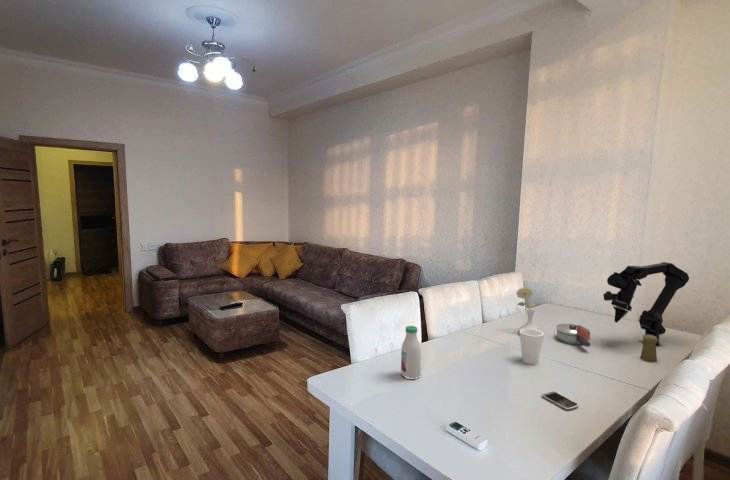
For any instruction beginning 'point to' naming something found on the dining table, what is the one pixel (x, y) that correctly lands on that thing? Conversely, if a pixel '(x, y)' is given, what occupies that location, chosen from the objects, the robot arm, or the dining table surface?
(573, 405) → the cell phone
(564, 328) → the lid
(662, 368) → the dining table surface
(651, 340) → the cork
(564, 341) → the pot
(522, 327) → the flower in vase
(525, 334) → the foam cup
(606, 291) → the robot arm
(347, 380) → the dining table surface
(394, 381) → the dining table surface
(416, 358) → the milk bottle
